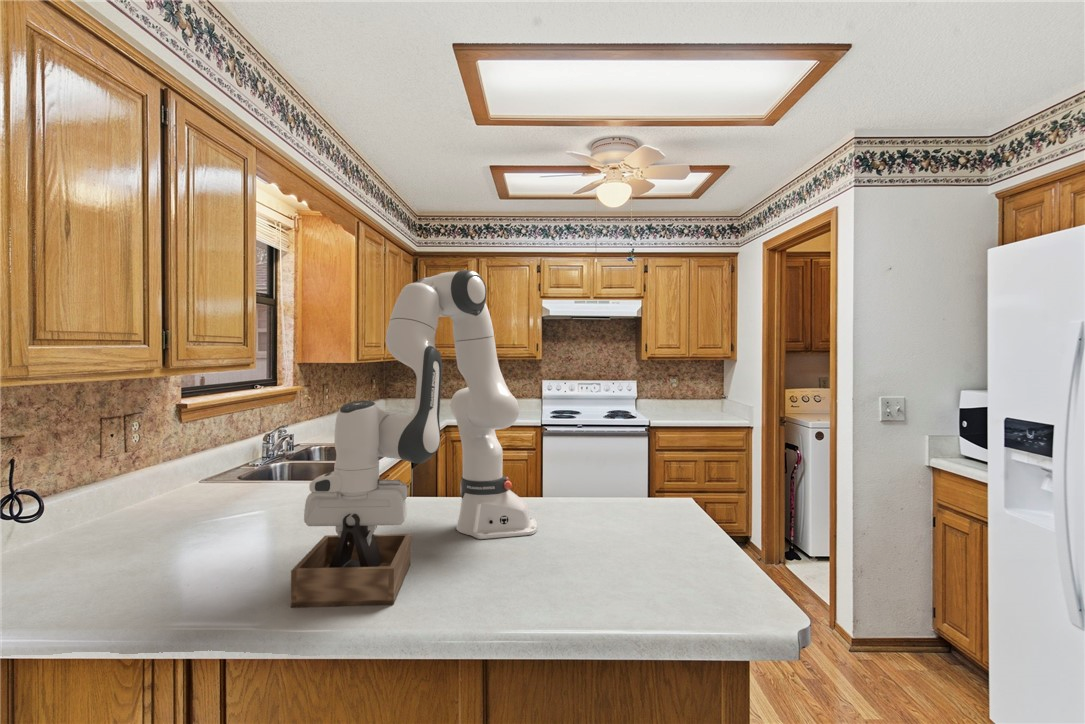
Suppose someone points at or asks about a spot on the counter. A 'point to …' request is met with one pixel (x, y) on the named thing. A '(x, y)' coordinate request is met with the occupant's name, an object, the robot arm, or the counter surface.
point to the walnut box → (351, 575)
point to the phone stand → (357, 536)
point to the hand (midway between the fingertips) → (356, 545)
